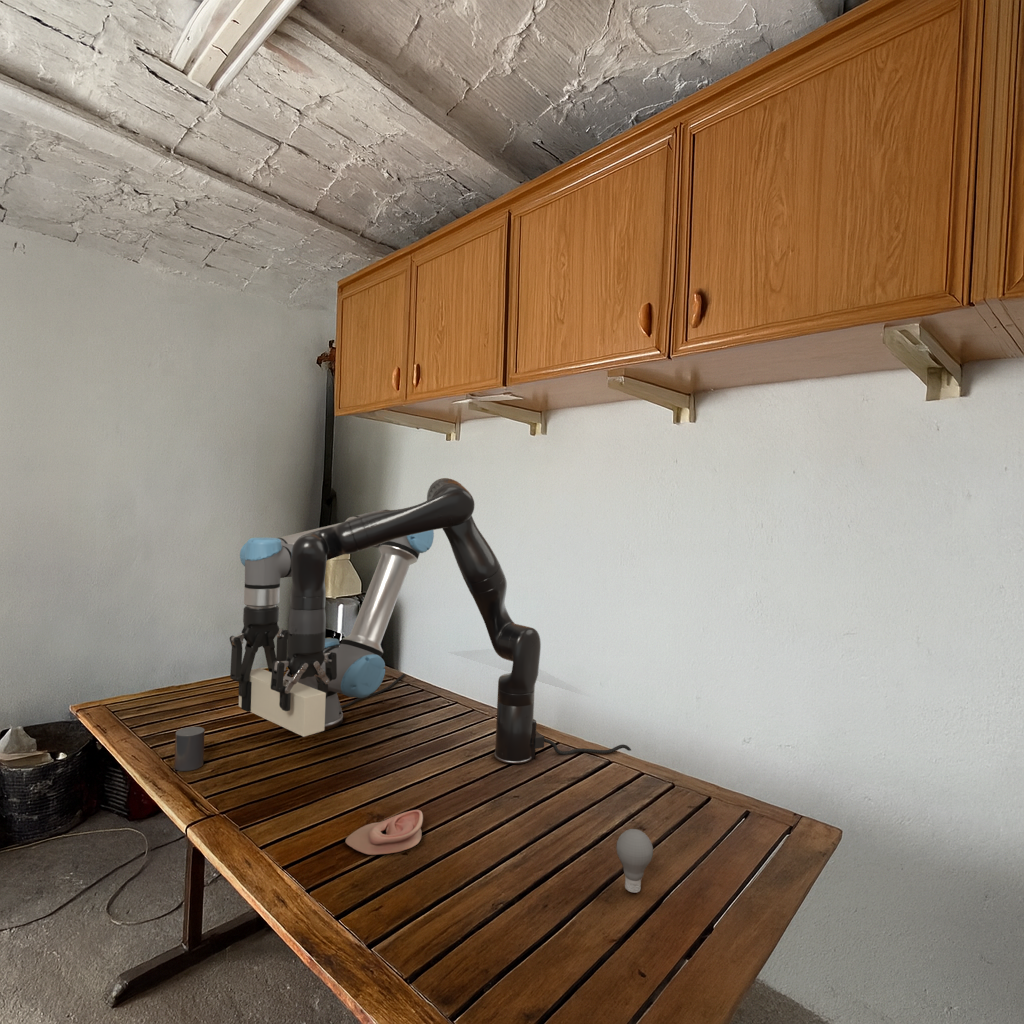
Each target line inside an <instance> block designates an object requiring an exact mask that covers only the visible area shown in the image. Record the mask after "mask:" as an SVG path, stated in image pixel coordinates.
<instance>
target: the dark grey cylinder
mask: <svg viewBox="0 0 1024 1024" xmlns="http://www.w3.org/2000/svg"><path fill="white" fill-rule="evenodd" d="M205 730H206V729H205V728H204V727H203V726H202V727H201V726H188V727H183V728H180V729H178V730H176V732H175V734H174V735H175V738H174V740H175V741H174V762H173V763H174V766H173V767H174V768H173V769H174V770H175V771H178V772H190V771H194V770H197V769H200V768H201V767H203V766H204V761H205V735H206V734H205V733H206V731H205Z"/></svg>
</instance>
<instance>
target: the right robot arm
mask: <svg viewBox="0 0 1024 1024" xmlns="http://www.w3.org/2000/svg"><path fill="white" fill-rule="evenodd" d="M475 505H476V503H475V500H474V497H473V495H472V494H471V493H470V492H469V490H468V489H467V488H466V487H465V486H464V485H463V484H462V483H460V482H459V481H457V480H455V479H452V478H448V477H442V478H438V479H436V480H435V481H433V482H432V483H431V484H430V486H429V487H428V490H427V494H426V500H425V501H423V502H421V503H419V504H415V505H411V506H408V507H405V508H404V507H403V508H398V509H397V508H396V509H388V510H389V511H381V512H375V513H370V514H366V515H363V516H360V517H357V518H354V519H351V520H348V521H346V520H345V521H343V522H340V523H341V524H338V523H337V524H338V525H336V526H333V527H329V528H325V529H321V530H318V531H314V532H311V533H308V534H305V535H302V536H301V537H299V538H298V539H297V540H296V541H295V543H294V545H293V547H292V553H291V569H292V577H291V588H290V603H289V614H288V618H287V619H288V622H287V630H288V639H287V660H286V661H277V660H275V661H274V662H273V666H272V677H271V690H274V691H277V692H280V703H279V706H280V708H281V709H282V710H284V711H290V703H291V693H289V692H290V691H291V689H292V687H293V686H294V685H295V684H296V683H297V682H298V681H299V679H304V678H306V677H314V676H315V677H316V678H317V680H318V681H319V682H320V683H318V689H317V690H320V691H322V692H325V693H326V698H327V696H328V684H329V682H330V681H331V680H335V679H336V678H337V655H336V653H334V652H331V651H326V653H323V651H324V649H325V638H326V628H327V627H326V626H327V615H326V598H327V597H326V596H327V595H326V591H327V589H326V571H327V561H330V560H333V559H335V558H337V557H340V556H343V555H352V554H355V553H358V552H362V551H364V550H368V549H370V548H374V547H373V546H376V545H379V544H382V543H385V542H388V541H391V540H394V539H397V538H401V537H405V536H408V535H412V534H417V533H421V532H426V531H430V530H433V531H435V530H441V529H442V531H443V532H444V534H445V536H446V538H447V540H448V542H449V545H450V548H451V550H452V553H453V556H454V559H455V561H456V564H457V567H458V570H459V572H460V574H461V576H462V579H463V580H464V582H465V585H466V586H467V589H468V591H469V593H470V594H471V596H472V598H473V601H474V603H475V605H476V607H477V609H478V611H479V614H480V616H481V618H482V620H483V623H484V626H485V628H486V631H487V634H488V637H489V639H490V643H491V645H492V648H493V650H494V652H495V653H496V655H497V656H498V657H500V658H502V659H503V660H506V661H509V662H512V667H511V672H507V673H504V674H501V675H500V676H499V677H498V680H497V701H496V724H495V725H496V726H495V745H494V759H496V760H497V761H498V762H500V763H504V764H507V765H508V764H509V765H521V764H522V765H523V764H525V763H526V764H527V763H529V762H530V761H532V760H534V759H536V749H543V748H545V743H546V744H549V745H551V746H552V748H553V750H554V752H555V753H556V754H558V755H560V756H567V755H572V754H577V753H590V754H599V755H604V754H605V755H607V754H612V753H614V752H617V751H618V750H621V749H625V750H626V751H628V752H631V751H632V749H631V747H629V746H628V745H627V744H619V745H616V746H614V747H613V748H609V749H594V748H581V747H580V748H574V749H570V750H565V751H564V750H560V749H559V748H558V745H557V744H556V743H555V742H554V741H552V740H551V739H548V738H545V735H543V734H541V733H540V732H539V731H537V720H536V719H534V716H535V715H534V714H535V693H536V692H535V690H536V683H537V680H538V676H539V671H540V660H541V648H542V642H541V637H540V633H539V632H538V630H537V629H536V628H534V627H531V626H527V625H523V624H518V623H515V621H513V619H512V618H511V616H510V614H509V611H508V610H507V608H506V603H505V601H506V595H507V590H508V589H507V588H508V582H507V578H506V574H505V572H504V570H503V568H502V566H501V563H500V561H499V560H498V558H497V556H496V554H495V553H494V551H493V549H492V548H491V545H490V544H489V542H488V541H487V540H486V538H485V537H484V535H483V534H482V533H481V531H480V530H479V528H478V525H477V524H476V522H475V520H474V517H473V513H474V511H475ZM324 661H325V671H324V670H323V669H322V667H321V665H322V663H323V662H324ZM286 667H287V668H286ZM284 671H285V672H284ZM283 677H284V678H283ZM283 679H284V680H283Z"/></svg>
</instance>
